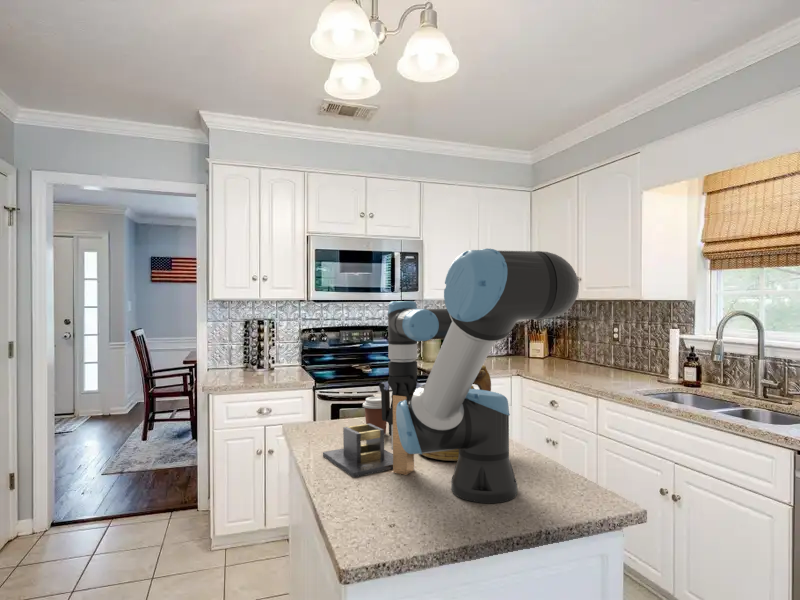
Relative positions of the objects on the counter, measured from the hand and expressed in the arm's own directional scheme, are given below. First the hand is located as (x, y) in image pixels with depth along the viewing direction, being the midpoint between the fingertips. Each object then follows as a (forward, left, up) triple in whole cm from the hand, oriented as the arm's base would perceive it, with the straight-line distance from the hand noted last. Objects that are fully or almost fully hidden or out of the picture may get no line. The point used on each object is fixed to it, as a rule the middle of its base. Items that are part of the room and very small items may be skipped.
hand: (403, 449), depth 126 cm
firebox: (+13, +5, -6) cm, 15 cm away
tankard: (+6, -22, -6) cm, 24 cm away
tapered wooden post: (0, 0, -6) cm, 6 cm away
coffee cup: (+35, -11, -6) cm, 37 cm away
